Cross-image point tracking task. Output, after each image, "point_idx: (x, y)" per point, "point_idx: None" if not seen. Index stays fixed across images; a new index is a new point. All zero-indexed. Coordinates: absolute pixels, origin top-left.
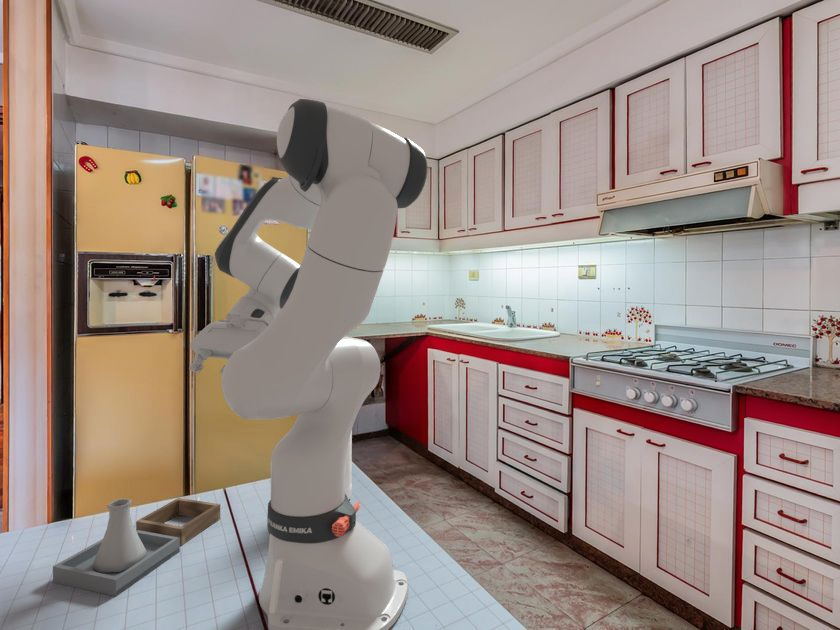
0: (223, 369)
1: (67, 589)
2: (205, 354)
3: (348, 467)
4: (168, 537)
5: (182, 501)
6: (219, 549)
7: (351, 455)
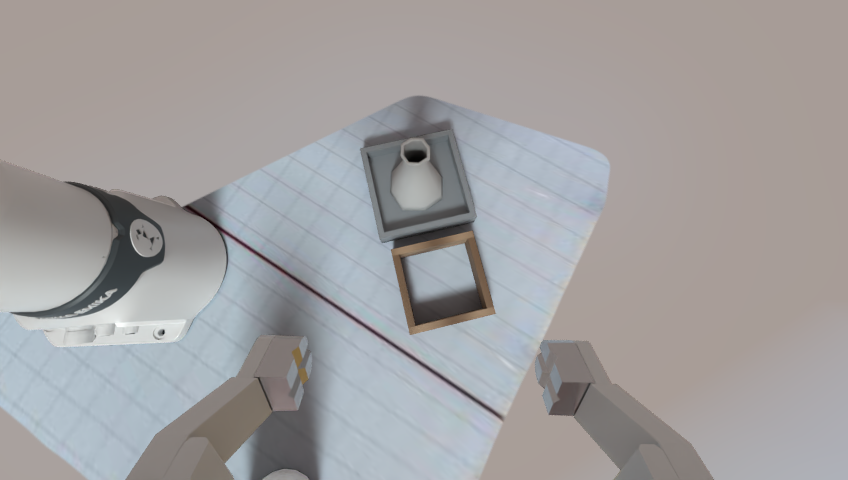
0: (275, 346)
1: None
2: None
3: None
4: (393, 231)
5: (479, 310)
6: (338, 272)
7: None
